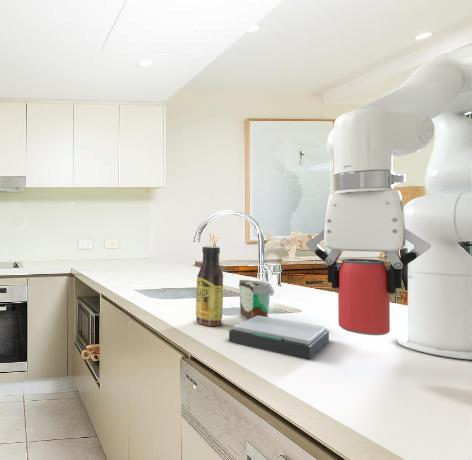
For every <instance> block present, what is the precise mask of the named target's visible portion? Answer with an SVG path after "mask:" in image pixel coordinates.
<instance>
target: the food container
mask: <svg viewBox="0 0 472 460" xmlns="http://www.w3.org/2000/svg"><path fill="white" fill-rule="evenodd" d="M238 287H239V311H240V312H239V314H240V315H239V316H240V317H241V318H243V319H244V320H245V321H246V320H249V319H251V318H253V317H255V316H264V317H269V308H270V307H269V306H270V296H271V294H273V292H274V291H273V287H272V286H271V283H269V282H266V281H257V280H250V279H239V281H238Z"/></svg>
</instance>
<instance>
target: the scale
mask: <svg viewBox="0 0 472 460" xmlns="http://www.w3.org/2000/svg"><path fill="white" fill-rule="evenodd" d="M228 342H231V343H233V344H239V345H243V346H247V347H252V348H256V349H260V350H265V351H268V352H269V351H270V352H273V353H278V354H282V355H288V356H291V357H295V358H301V359H305V360H311V359H312V358H313V357H314V356H315V355H316V354H317V353H318V352H319V351H320V350H322V349H323V348H324V347H325V346H326V345H327V344H328V343H329V342H330V330H328V329H327V326H324V325H318V324H314V323H313V324H312V323H307V322H300V321H294V320H289V319H282V318H277V317H276V318H275V317H270V316H268V317H264V316H255V317H253V318H251V319H249V320H246V319H245V320H244V321H242V322H239V323H238V324H237V323H236V324H235V325H233V328H232V329H230V330H228Z"/></svg>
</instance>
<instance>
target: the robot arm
mask: <svg viewBox="0 0 472 460" xmlns="http://www.w3.org/2000/svg"><path fill="white" fill-rule="evenodd" d="M405 79H406V80H404V81H403V82H402V83H401V84H400V85H399V86H398V87H396V88H394V89H391V90H390V91H387V92H386V93H384V94H382V95H381V96H378V97H377V98H374V99H372V100H371V101H369V102H367V103H364V104H363V105H361V106H359V107H357V108H356V109H354V110H351V111H347V112H345V113H342V114H340V115H339V116H338V117H336V118H335V120H334V122H333V128H332V129H331V131H330V132H329V134H328V137H327V140H326V151H327V154H328V156H329V157H330V158H331V159H332V160H333V193H331V194H329V196H328V199H327V205H326V210H325V219H324V228H323V229H322V230H321V231H319V232H318V233H317V234H316V235H314V236H313V237H311V238H310V239H309V240H307V241H306V242H305V246H306V247H307V248H308V249H310V251H312V252H313V253H314V254H315V255H316V256H317V257H318V258H319V259H321V261H322V262H324V263H325V265H326V266H327V283H331V288H332V289H338V271H339V268H340V266H341V264H339V261H338V260H339V258H340V257H341V255H342V253H343V252H373V253H374V252H375V253H376V252H377V253H384V255H385V256H386V257H387V260H388V261H389V263H390V265H389V267H388V268H387V270H388V292H389V294H392V295H395V294H396V293H397V289H402V288H403V287H402V286H403V281H402V279H403V278H402V276H403V272H402V271H403V270H402V269H403V268H404V267H405V266H407V334H401V335H399V336H397V339H396V340H397V341H396V342H397V343H398V344H399V345H401V346H402V347H405V348H406V349H411V350H413V351H417V352H421V353H424V354H430V355H434V356H440V357H445V358H452V359H460V360H470V361H471V360H472V255H471V254H469V252H467V251H466V249H465V248H463V247H462V246H461V245H460V244H459V243H463V242H464V243H465V242H472V118H471V117H468V116H467V115H468V114H472V44H470V45H468V46H467V45H466V46H464V47H460V48H458V49H454V50H451V51H448V52H445V53H442V54H439V55H436V56H433V57H431V58H430V59H428V60H426V61H424V62H423V63H422V64H420V66H418V67H417V68H416V69H415V70H414V71H413V72H412V73H411V74H410V75H409V76H408V77H407V78H405ZM433 138H434V145H433V149H432V152H431V154H430V158H429V160H428V164H427V167H426V171H425V173H424V180H423V183H424V184H423V185H424V188H425V190H426V191H427V192H428V193H429V194H426V195H421V196H418V197H415V198H413V199H411V200H409V201H408V202H406V203H405V204H404V203H403V199H402V194H401V192H400V190H397V189H395V190H394V186H396V185H399V184H401V183H402V184H403V183H404V184H405V183H406V174H405V173H401V174H399V173H395V172H394V171H393V169H394V167H393V163H394V162H393V158H395V157H402V156H408V155H413V154H416V153H418V152H420V151H422V150H425V149H426V148H427V147H428V146H429V145H430V144H431V142H432V140H433ZM322 241H323V242H324V246H325V247H326V248H327V249H329V250H330V252H328V251H326V250H325V249H323V248H322V246H320V243H321V242H322ZM405 245H406V249H407V253H405V254H404V255H403V256H400V254H399V253H398V251H399V250H401V249H404V248H405Z"/></svg>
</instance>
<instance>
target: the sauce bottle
mask: <svg viewBox="0 0 472 460" xmlns="http://www.w3.org/2000/svg"><path fill="white" fill-rule="evenodd" d="M201 251H202V263H201V266H200V269H199V271H198V273H197V277H196V294H195V295H196V297H195V316H196V317H195V319H196V323H198V324H200V325H203V326H206V327H216V326H217V327H218V326H221V325H222V321H223V320H222V319H223V307H224V304H223V303H224V273H223V271H222V269H221V268H220V261H219V258H220V257H219V256H220V252H221V248H220V247H219V246H211V245H206V246H205V245H203V246H202V250H201Z"/></svg>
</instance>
